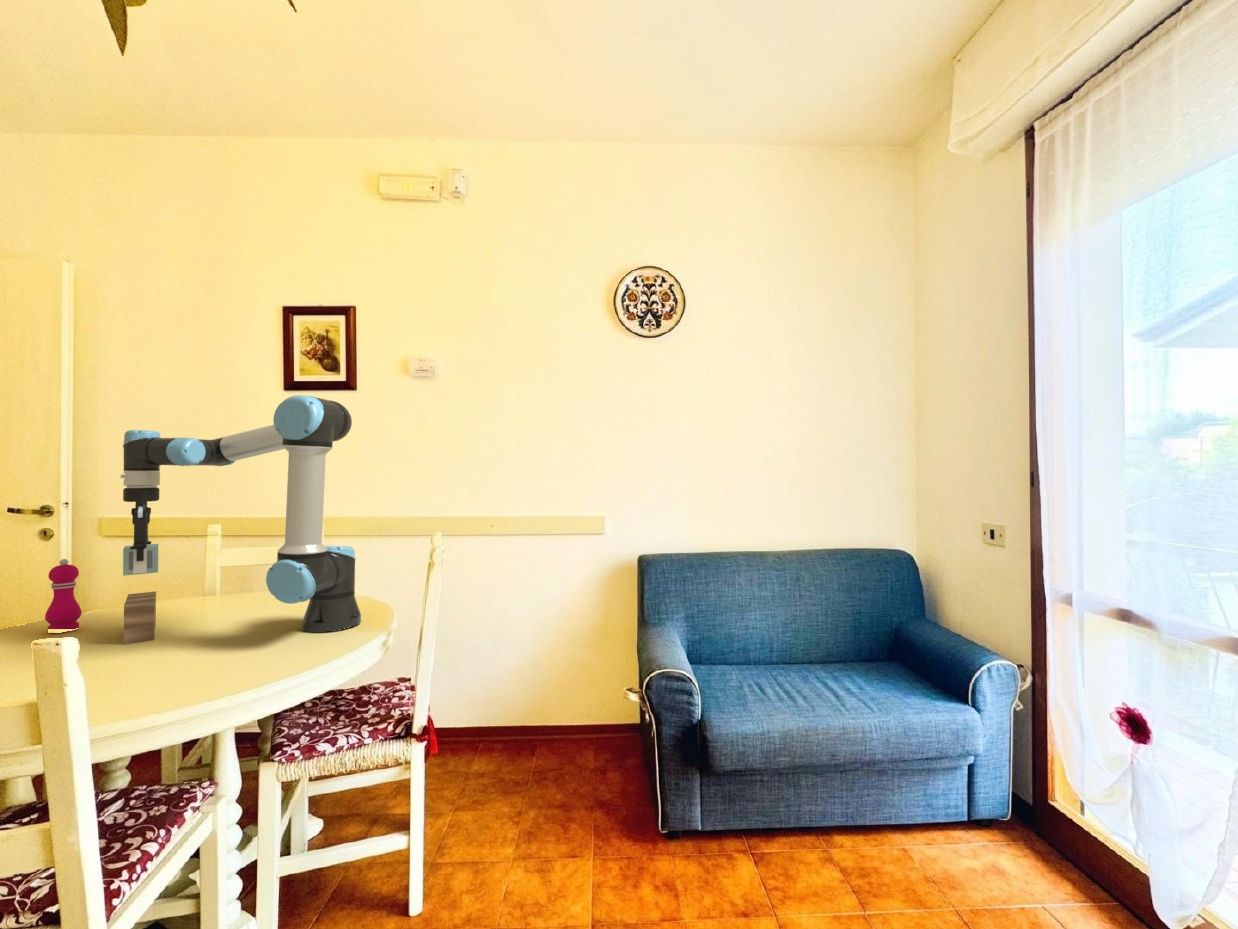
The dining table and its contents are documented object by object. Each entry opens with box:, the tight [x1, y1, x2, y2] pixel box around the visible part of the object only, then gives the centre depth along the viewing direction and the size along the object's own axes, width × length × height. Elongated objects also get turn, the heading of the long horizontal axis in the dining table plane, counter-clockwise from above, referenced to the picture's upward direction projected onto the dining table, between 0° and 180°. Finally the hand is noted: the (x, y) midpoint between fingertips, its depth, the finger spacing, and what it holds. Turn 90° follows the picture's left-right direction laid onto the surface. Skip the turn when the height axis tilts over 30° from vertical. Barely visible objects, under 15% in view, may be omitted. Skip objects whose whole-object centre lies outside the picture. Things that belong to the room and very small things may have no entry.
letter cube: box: [122, 543, 159, 576], centre depth 151 cm, size 7×7×7 cm
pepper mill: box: [44, 558, 82, 629], centre depth 154 cm, size 7×7×20 cm
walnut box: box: [123, 591, 157, 645], centre depth 151 cm, size 16×6×10 cm, turn 39°
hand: (140, 570), depth 151 cm, fingers closed on letter cube, 7 cm apart
